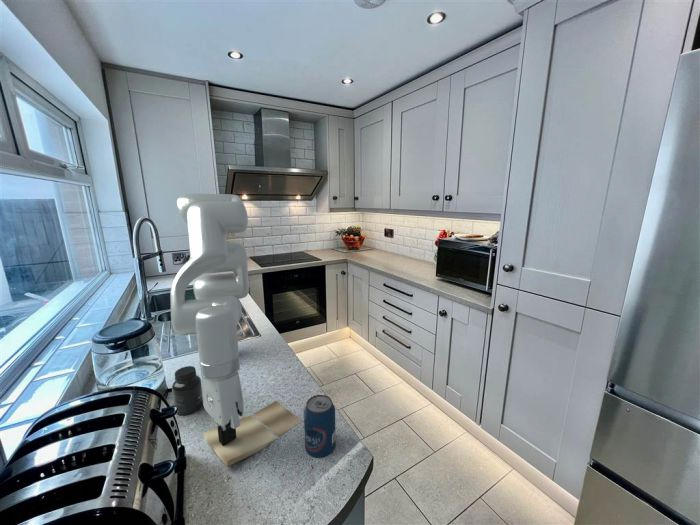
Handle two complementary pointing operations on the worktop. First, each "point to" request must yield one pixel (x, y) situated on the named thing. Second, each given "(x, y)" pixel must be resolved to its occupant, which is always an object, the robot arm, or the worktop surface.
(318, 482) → the worktop surface
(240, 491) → the worktop surface
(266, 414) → the laid board
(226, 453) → the plank
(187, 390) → the supplement bottle
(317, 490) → the worktop surface
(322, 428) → the soda can
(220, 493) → the worktop surface
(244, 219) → the robot arm
